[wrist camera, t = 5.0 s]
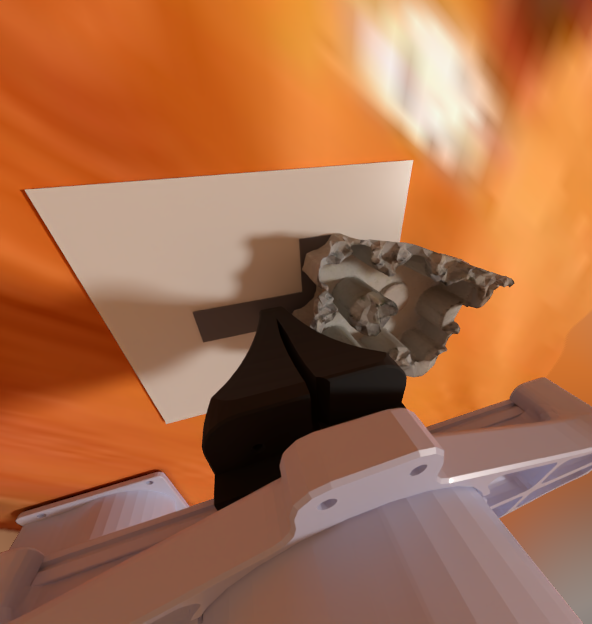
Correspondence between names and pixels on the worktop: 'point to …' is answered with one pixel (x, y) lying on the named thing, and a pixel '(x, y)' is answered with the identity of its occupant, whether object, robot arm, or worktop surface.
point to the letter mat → (210, 260)
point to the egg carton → (392, 297)
